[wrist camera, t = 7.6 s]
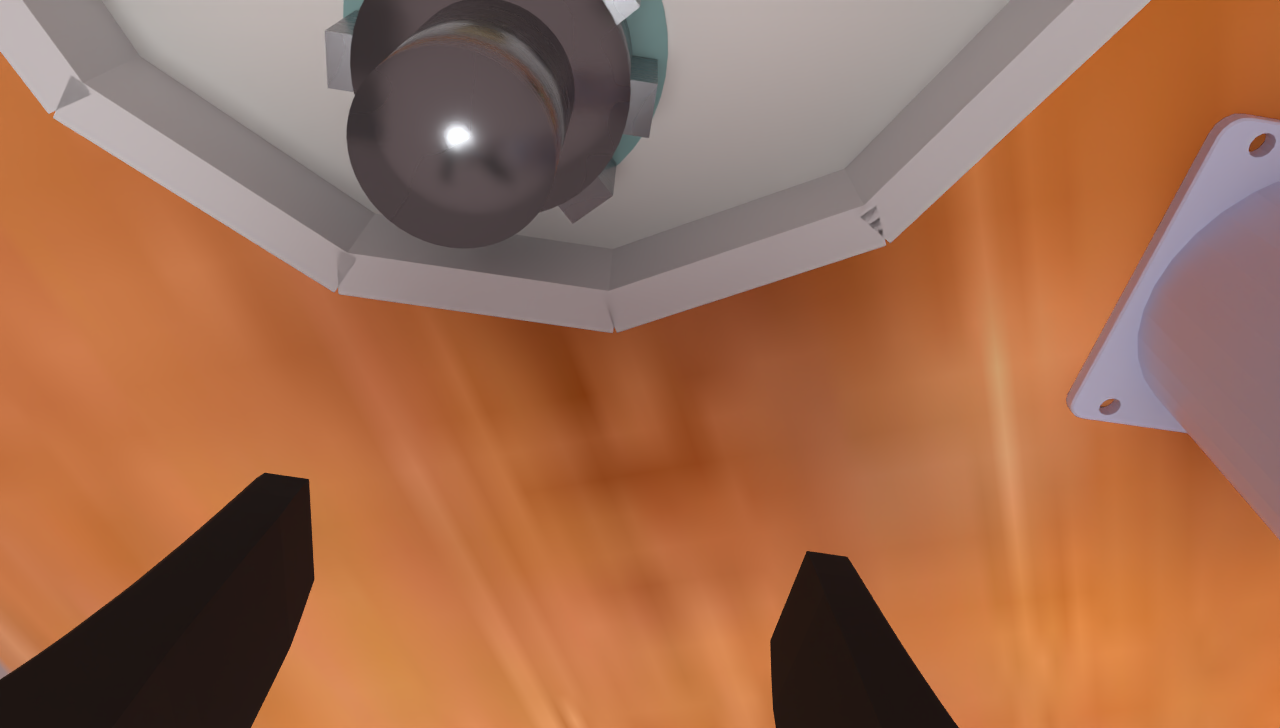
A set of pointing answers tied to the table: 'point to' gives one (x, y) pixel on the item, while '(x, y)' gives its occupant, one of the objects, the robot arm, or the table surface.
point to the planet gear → (488, 109)
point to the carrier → (646, 167)
